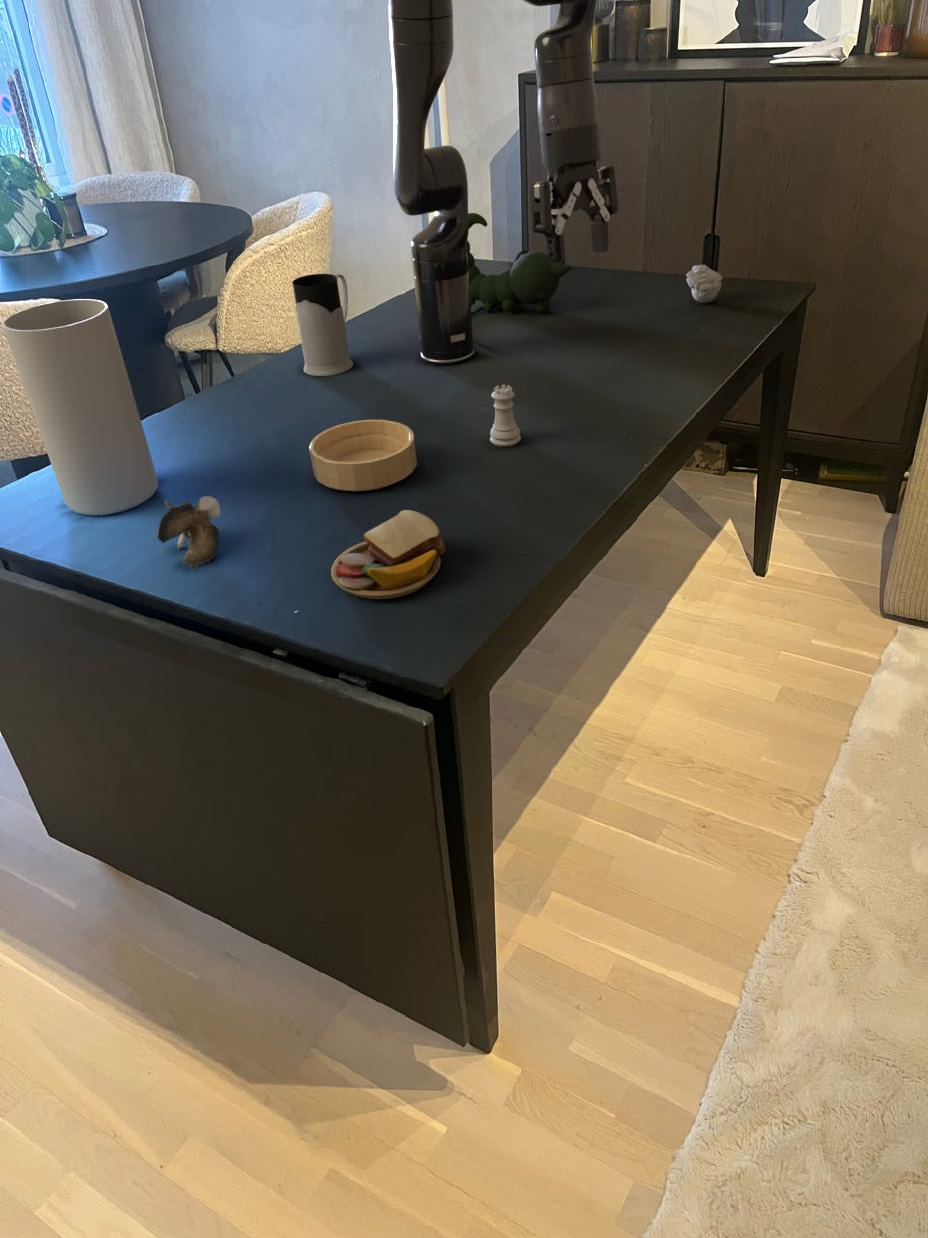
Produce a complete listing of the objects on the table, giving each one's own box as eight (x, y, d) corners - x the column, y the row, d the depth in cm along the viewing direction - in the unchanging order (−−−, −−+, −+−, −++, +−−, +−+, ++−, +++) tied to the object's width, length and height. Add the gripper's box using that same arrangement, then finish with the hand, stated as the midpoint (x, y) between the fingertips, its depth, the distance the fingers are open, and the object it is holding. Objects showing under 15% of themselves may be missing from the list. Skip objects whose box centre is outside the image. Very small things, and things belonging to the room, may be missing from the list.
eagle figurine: (154, 529, 118) (145, 553, 110) (174, 479, 116) (167, 498, 108) (212, 552, 121) (208, 576, 113) (233, 503, 119) (230, 524, 111)
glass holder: (294, 373, 164) (278, 286, 156) (333, 346, 175) (320, 263, 166) (338, 377, 161) (324, 288, 153) (375, 349, 172) (364, 264, 163)
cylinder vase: (108, 525, 123) (45, 336, 108) (47, 506, 129) (-20, 324, 114) (178, 485, 131) (128, 304, 117) (118, 469, 137) (63, 295, 123)
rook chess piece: (524, 436, 136) (522, 382, 131) (516, 449, 133) (513, 395, 128) (495, 433, 137) (492, 381, 133) (485, 446, 134) (482, 393, 129)
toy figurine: (450, 321, 187) (567, 319, 176) (434, 220, 177) (556, 211, 166) (471, 306, 194) (585, 303, 183) (456, 209, 184) (576, 199, 173)
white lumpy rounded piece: (680, 299, 182) (682, 262, 179) (715, 296, 183) (718, 258, 179) (689, 309, 178) (692, 271, 174) (726, 305, 178) (729, 267, 174)
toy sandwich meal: (316, 566, 110) (309, 531, 108) (419, 532, 115) (415, 498, 112) (358, 616, 101) (351, 579, 98) (468, 578, 106) (465, 541, 103)
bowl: (317, 454, 136) (312, 425, 134) (415, 444, 137) (412, 415, 134) (312, 499, 125) (306, 468, 122) (418, 488, 125) (415, 457, 122)
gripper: (584, 119, 126) (593, 247, 134) (508, 134, 118) (522, 269, 126) (628, 113, 121) (635, 247, 128) (551, 128, 113) (563, 269, 121)
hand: (579, 258), depth 127 cm, fingers open, 8 cm apart
